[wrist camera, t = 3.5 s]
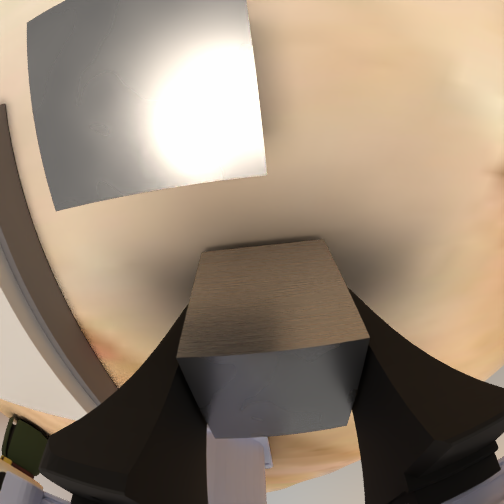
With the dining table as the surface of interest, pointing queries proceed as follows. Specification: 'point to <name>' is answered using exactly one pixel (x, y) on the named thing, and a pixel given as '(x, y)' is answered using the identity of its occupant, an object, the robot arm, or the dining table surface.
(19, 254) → the kitchen scale
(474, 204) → the dining table surface
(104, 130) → the block
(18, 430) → the character mug
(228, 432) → the block
